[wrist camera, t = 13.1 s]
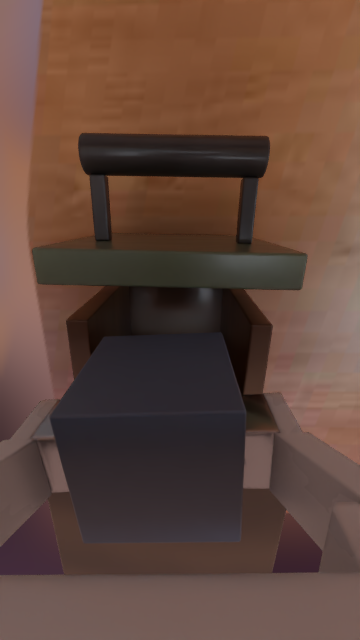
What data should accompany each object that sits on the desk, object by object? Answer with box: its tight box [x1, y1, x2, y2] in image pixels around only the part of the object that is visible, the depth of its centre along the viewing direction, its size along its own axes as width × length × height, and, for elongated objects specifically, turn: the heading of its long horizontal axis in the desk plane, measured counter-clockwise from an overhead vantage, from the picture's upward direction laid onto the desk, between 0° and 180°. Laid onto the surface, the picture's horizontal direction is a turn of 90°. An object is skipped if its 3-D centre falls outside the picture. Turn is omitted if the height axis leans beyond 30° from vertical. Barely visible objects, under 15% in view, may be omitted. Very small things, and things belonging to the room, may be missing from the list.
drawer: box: [32, 133, 308, 395], centre depth 14 cm, size 16×9×9 cm, turn 179°
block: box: [50, 332, 246, 543], centre depth 8 cm, size 4×4×4 cm
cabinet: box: [48, 488, 286, 575], centre depth 18 cm, size 14×10×11 cm
